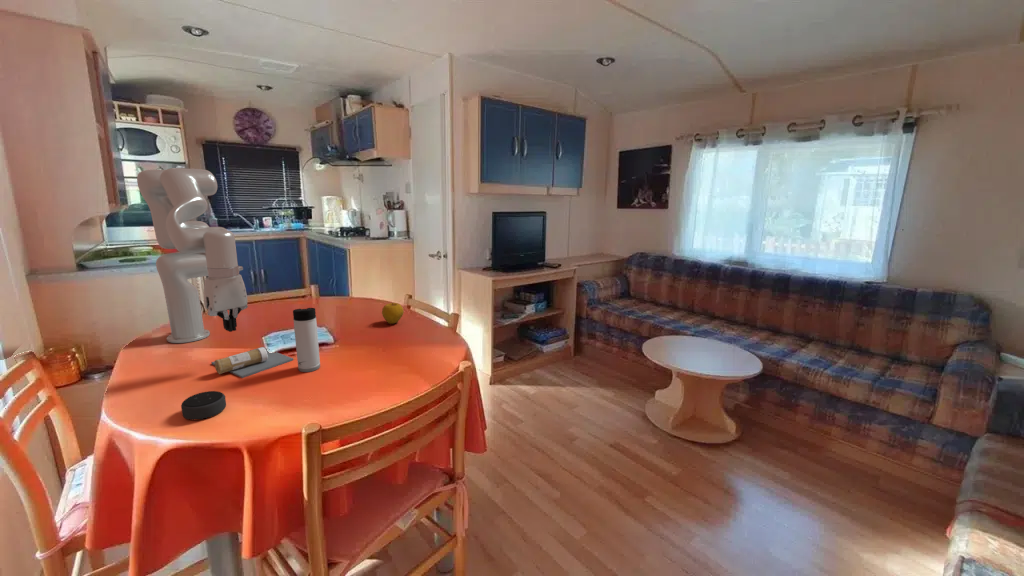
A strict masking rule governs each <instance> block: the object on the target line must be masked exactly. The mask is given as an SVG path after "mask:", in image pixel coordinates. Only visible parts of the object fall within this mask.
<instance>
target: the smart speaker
mask: <svg viewBox="0 0 1024 576" xmlns="http://www.w3.org/2000/svg"><path fill="white" fill-rule="evenodd" d="M226 406H227V401H226V396H225V394H224V393H223V392H221V391H216V390H208V391H204V392H203V391H202V392H198V393H196V394H192V395H190V396H189V397H187V398H186V399H184V400H183V401H182V402H181V405H180V407H181V413H182V416H183V418H184V419H186V420H189V419H191V420H190V421H195V420H194V419H201V420H204V419H203V418H206V419H208V418H207V417H210V418H212V417H214V415H215V416H217V415H219V414H221V412H224V410H225V409H226ZM218 413H219V414H218ZM216 414H217V415H216ZM211 416H212V417H211ZM192 419H193V420H192Z"/></svg>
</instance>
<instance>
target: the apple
mask: <svg viewBox="0 0 1024 576" xmlns="http://www.w3.org/2000/svg"><path fill="white" fill-rule="evenodd" d="M381 315H382V317H383V319H384V320H385V321H386V322H387V323H388V324H389V325H394V324H396V323H398V322H399V321H400V320H401V318H402V317H403V315H404V307H403V306H402V305H401V304H399V303H397V302H390V303H387V304H385V305H384V306H383V307H382V311H381Z"/></svg>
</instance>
